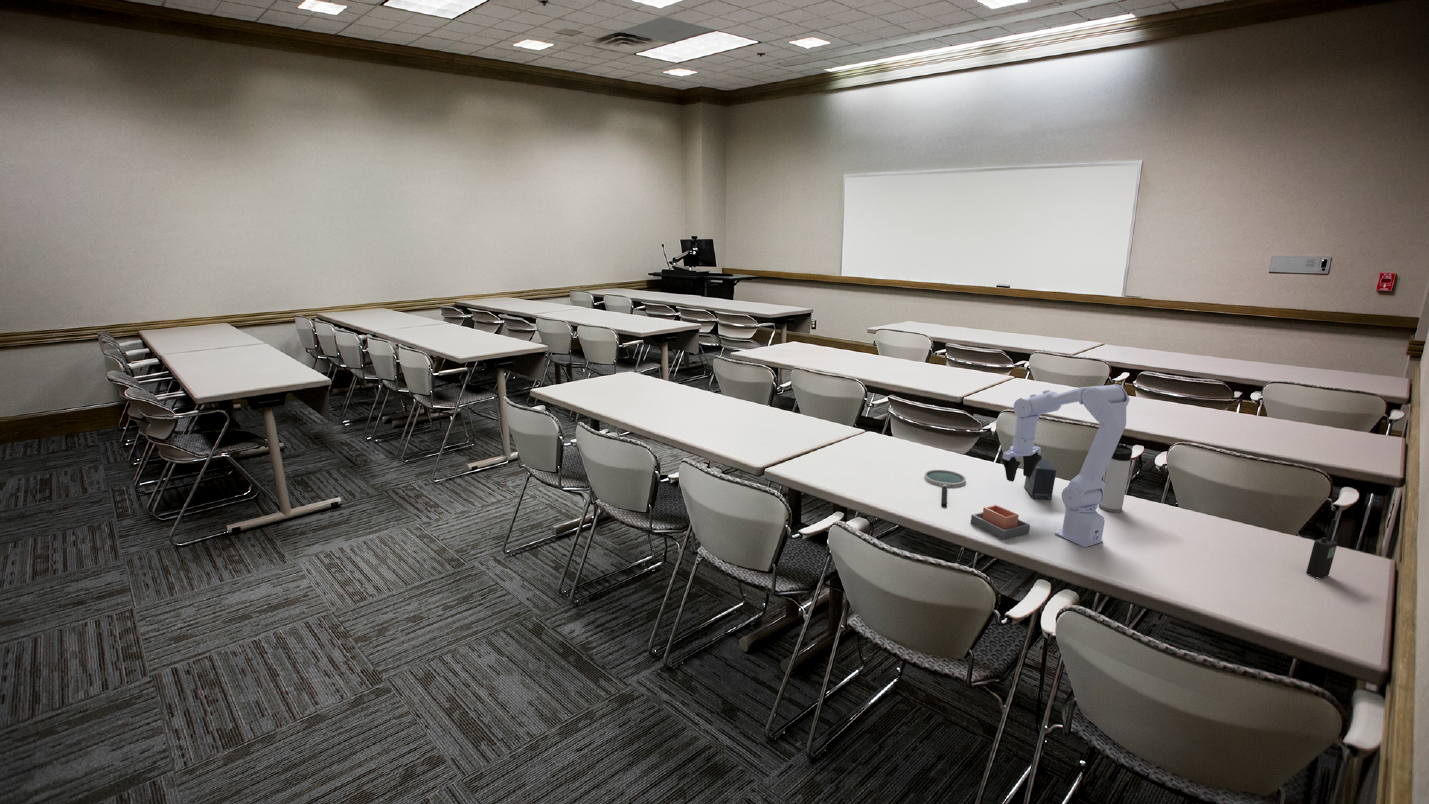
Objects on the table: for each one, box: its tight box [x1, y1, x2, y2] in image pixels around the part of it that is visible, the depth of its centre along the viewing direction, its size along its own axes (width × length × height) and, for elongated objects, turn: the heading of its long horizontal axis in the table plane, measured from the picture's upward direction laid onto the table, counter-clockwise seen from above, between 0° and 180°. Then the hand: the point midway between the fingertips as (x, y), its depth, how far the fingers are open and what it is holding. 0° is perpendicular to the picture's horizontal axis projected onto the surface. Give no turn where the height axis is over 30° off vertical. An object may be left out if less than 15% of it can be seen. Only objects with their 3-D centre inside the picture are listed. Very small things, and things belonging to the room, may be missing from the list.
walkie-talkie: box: [1305, 518, 1338, 579], centre depth 168 cm, size 5×3×15 cm
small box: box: [1023, 458, 1057, 501], centre depth 218 cm, size 11×6×10 cm, turn 168°
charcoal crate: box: [970, 511, 1031, 541], centre depth 193 cm, size 12×10×3 cm
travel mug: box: [1098, 443, 1133, 513], centre depth 205 cm, size 6×7×20 cm
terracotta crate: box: [982, 504, 1019, 530], centre depth 193 cm, size 8×5×5 cm, turn 28°
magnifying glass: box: [924, 469, 967, 508], centre depth 221 cm, size 13×31×2 cm, turn 161°
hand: (1018, 478), depth 206 cm, fingers open, 7 cm apart
